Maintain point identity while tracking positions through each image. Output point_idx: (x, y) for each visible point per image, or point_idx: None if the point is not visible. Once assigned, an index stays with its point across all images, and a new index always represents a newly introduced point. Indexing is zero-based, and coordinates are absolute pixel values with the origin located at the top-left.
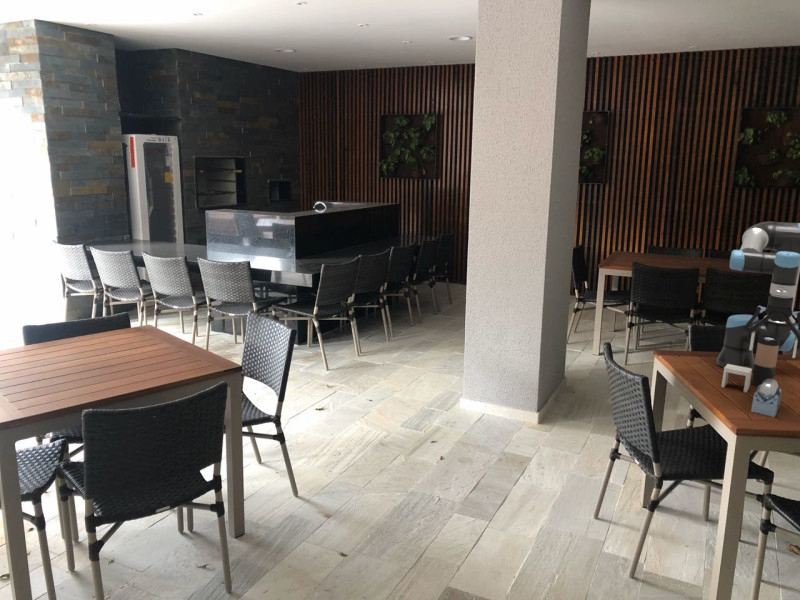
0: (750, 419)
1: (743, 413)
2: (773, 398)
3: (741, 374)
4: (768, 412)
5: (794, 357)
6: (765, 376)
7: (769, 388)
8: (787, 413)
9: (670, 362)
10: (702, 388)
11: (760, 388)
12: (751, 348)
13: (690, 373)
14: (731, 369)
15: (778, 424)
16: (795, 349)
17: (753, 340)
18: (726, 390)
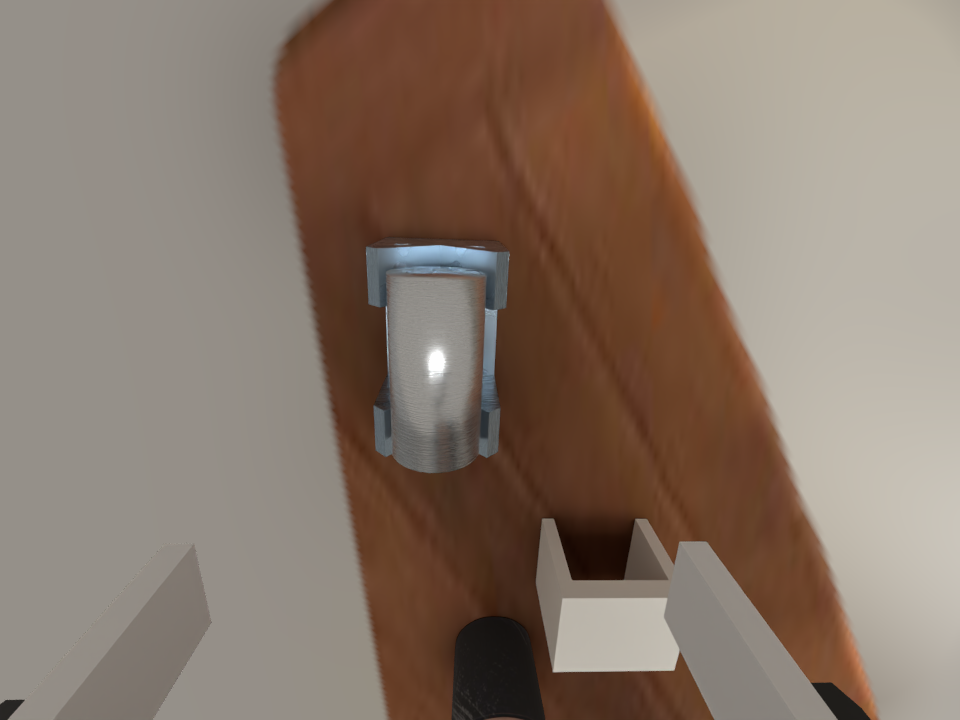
0: (489, 101)
1: (531, 186)
2: (390, 247)
3: (595, 583)
4: (416, 239)
5: (162, 551)
6: (484, 667)
7: (420, 277)
8: (344, 345)
9: (845, 684)
10: (728, 446)
11: (478, 277)
12: (696, 562)
13: (772, 607)
14: (654, 597)
15: (351, 123)
16: (70, 662)
17: (745, 717)
18: (624, 488)
